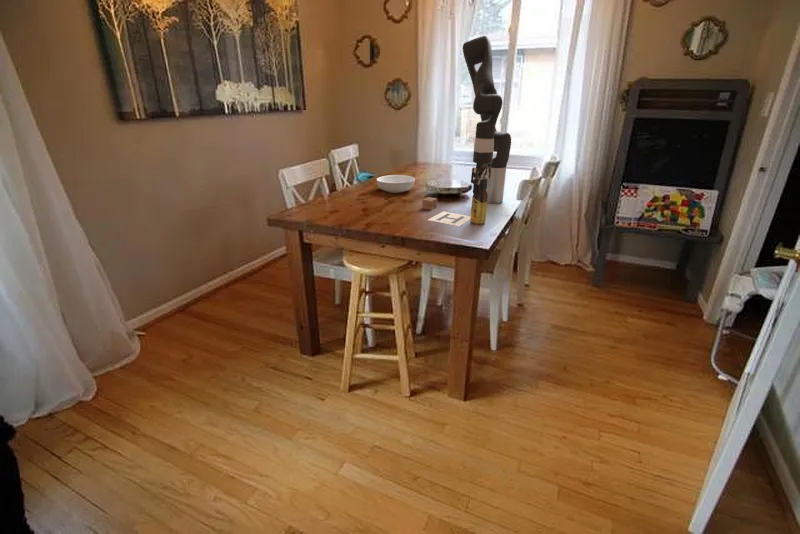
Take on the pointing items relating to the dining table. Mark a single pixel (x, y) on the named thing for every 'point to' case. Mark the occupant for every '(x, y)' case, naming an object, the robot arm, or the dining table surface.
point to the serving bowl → (395, 183)
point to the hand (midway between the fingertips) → (479, 191)
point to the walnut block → (429, 203)
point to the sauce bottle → (479, 204)
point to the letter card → (450, 218)
